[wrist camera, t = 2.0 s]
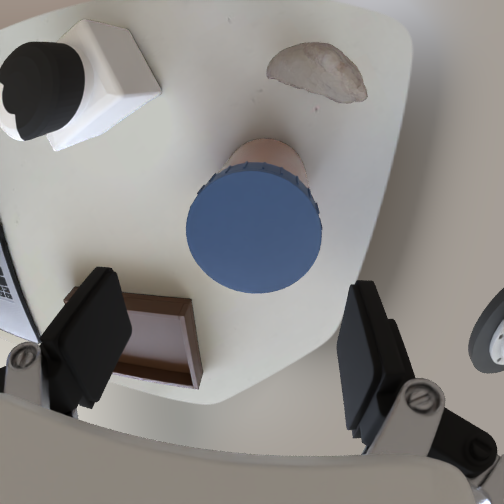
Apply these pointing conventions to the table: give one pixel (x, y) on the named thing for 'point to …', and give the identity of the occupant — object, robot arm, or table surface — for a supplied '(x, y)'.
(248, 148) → the jar
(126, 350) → the tray
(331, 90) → the fossil
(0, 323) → the laptop
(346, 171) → the table surface
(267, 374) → the table surface
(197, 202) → the lid
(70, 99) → the medicine bottle
